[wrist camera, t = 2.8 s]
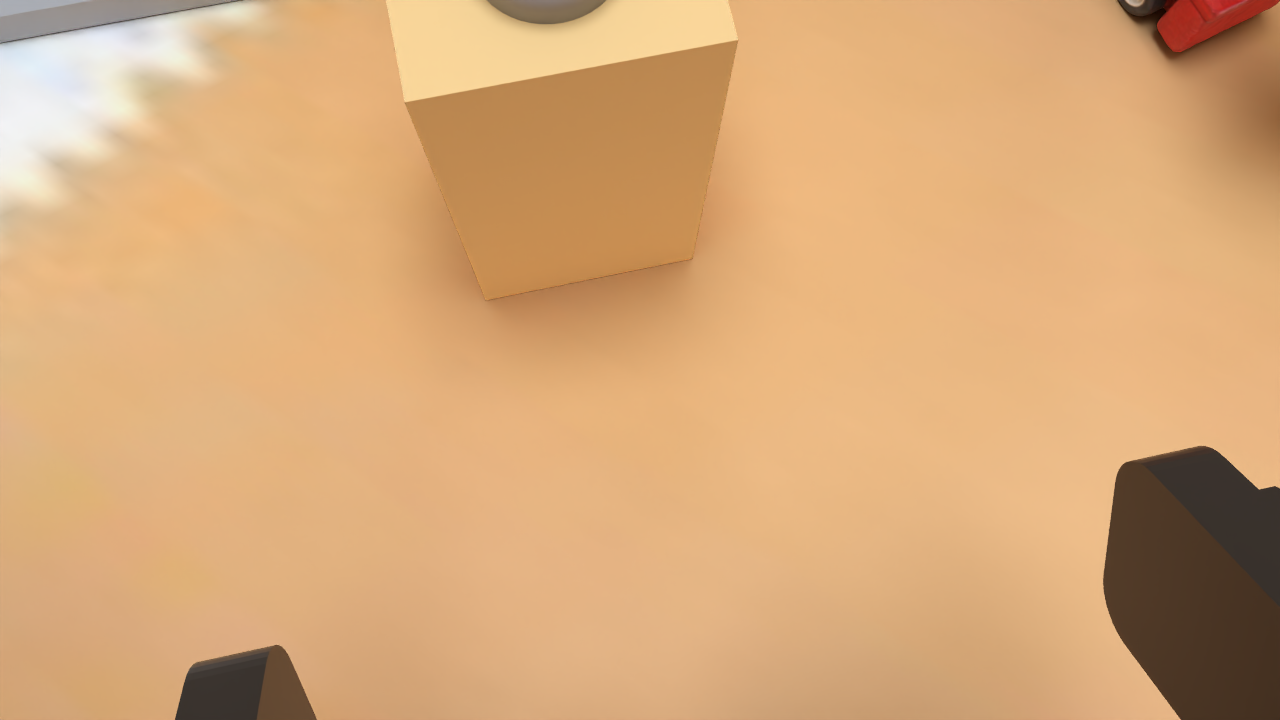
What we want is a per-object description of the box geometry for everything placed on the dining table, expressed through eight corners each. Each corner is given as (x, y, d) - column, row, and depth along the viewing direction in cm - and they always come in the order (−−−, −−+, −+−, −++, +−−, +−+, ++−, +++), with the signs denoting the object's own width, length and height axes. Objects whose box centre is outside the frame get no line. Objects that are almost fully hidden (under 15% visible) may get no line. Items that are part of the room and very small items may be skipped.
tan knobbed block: (485, 300, 25) (393, 75, 15) (455, 146, 26) (349, -169, 16) (692, 259, 26) (744, 10, 15) (656, 108, 27) (681, -224, 16)
